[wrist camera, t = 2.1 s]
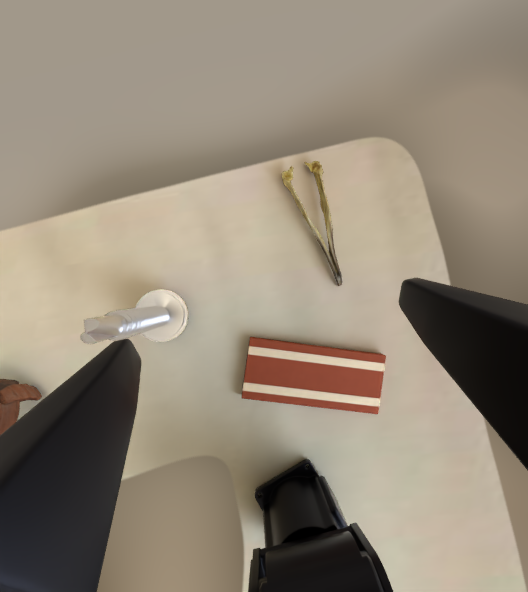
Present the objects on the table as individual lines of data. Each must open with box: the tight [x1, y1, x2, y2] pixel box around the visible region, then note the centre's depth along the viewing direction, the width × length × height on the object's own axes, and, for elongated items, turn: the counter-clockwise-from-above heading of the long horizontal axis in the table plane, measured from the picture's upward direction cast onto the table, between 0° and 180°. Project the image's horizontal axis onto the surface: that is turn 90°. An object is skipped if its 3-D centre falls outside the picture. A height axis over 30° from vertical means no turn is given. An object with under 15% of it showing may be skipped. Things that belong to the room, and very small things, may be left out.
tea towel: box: [242, 337, 386, 414], centre depth 26 cm, size 14×6×1 cm, turn 82°
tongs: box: [282, 161, 342, 286], centre depth 26 cm, size 4×13×2 cm, turn 24°
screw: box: [81, 289, 189, 344], centre depth 19 cm, size 13×5×5 cm
